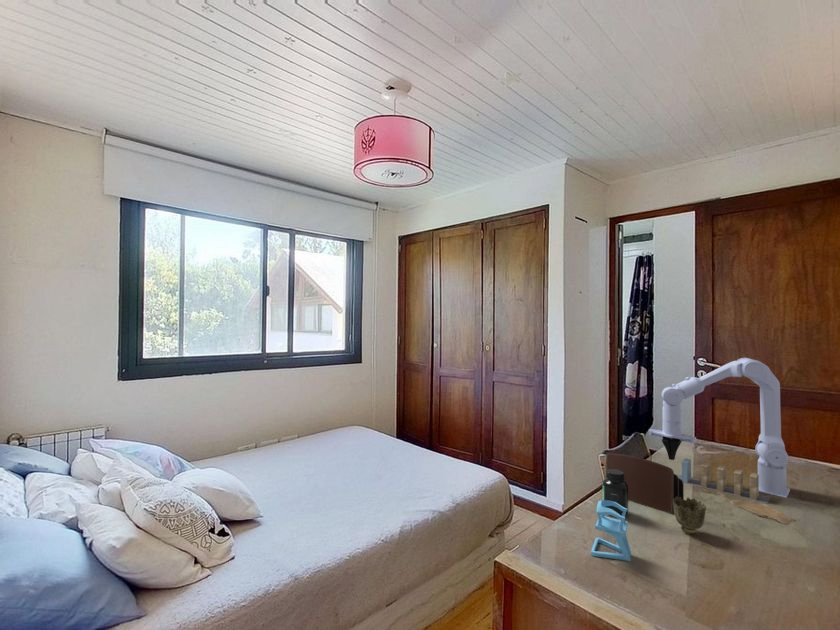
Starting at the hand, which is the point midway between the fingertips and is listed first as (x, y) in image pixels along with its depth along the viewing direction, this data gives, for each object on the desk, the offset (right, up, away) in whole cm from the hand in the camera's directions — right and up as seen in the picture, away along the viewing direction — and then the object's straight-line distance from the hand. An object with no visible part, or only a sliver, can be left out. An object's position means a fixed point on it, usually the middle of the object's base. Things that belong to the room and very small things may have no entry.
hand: (671, 459), depth 146 cm
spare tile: (+3, -6, -3) cm, 8 cm away
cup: (-18, -7, -37) cm, 42 cm away
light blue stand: (-44, -6, -47) cm, 65 cm away
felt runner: (+10, -7, -10) cm, 15 cm away
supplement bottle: (-33, -7, -26) cm, 43 cm away
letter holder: (-19, -7, -17) cm, 27 cm away
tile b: (+10, -6, -11) cm, 16 cm away
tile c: (+13, -6, -14) cm, 20 cm away
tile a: (+7, -6, -7) cm, 12 cm away
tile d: (+16, -6, -17) cm, 24 cm away
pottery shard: (+10, -7, -26) cm, 29 cm away
